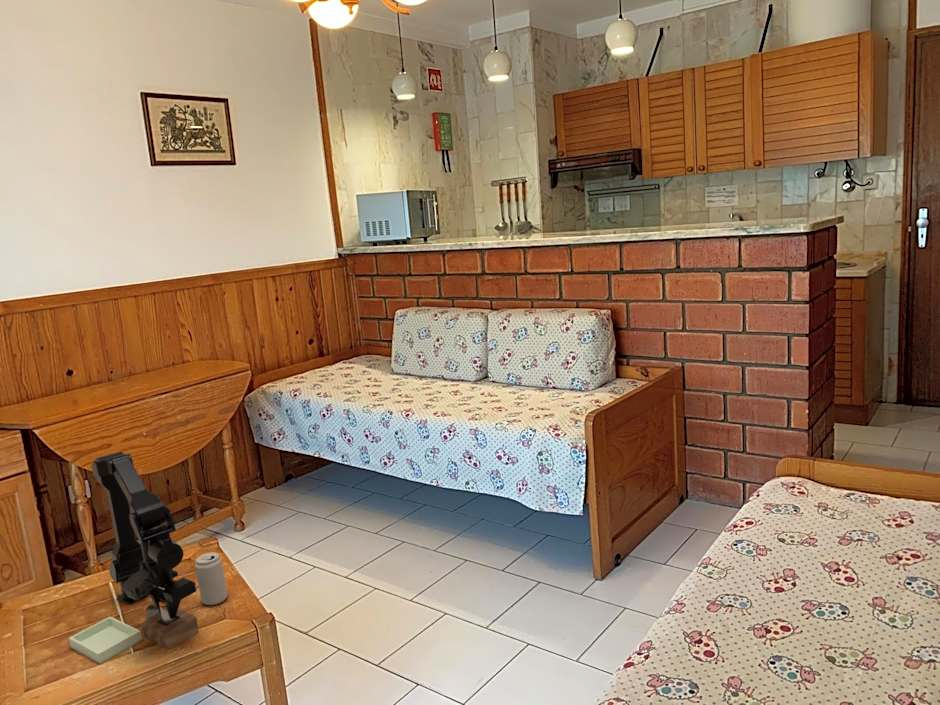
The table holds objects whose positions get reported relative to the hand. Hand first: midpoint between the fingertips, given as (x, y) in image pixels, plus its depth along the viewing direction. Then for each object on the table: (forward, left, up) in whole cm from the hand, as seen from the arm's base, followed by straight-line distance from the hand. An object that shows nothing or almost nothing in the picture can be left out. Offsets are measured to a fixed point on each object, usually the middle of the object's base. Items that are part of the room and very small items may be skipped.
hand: (168, 615), depth 175 cm
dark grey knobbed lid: (-10, +4, -5) cm, 12 cm away
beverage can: (-4, +15, -5) cm, 16 cm away
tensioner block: (0, 0, -5) cm, 5 cm away
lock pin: (0, 0, -5) cm, 5 cm away
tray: (-11, -10, -5) cm, 16 cm away
